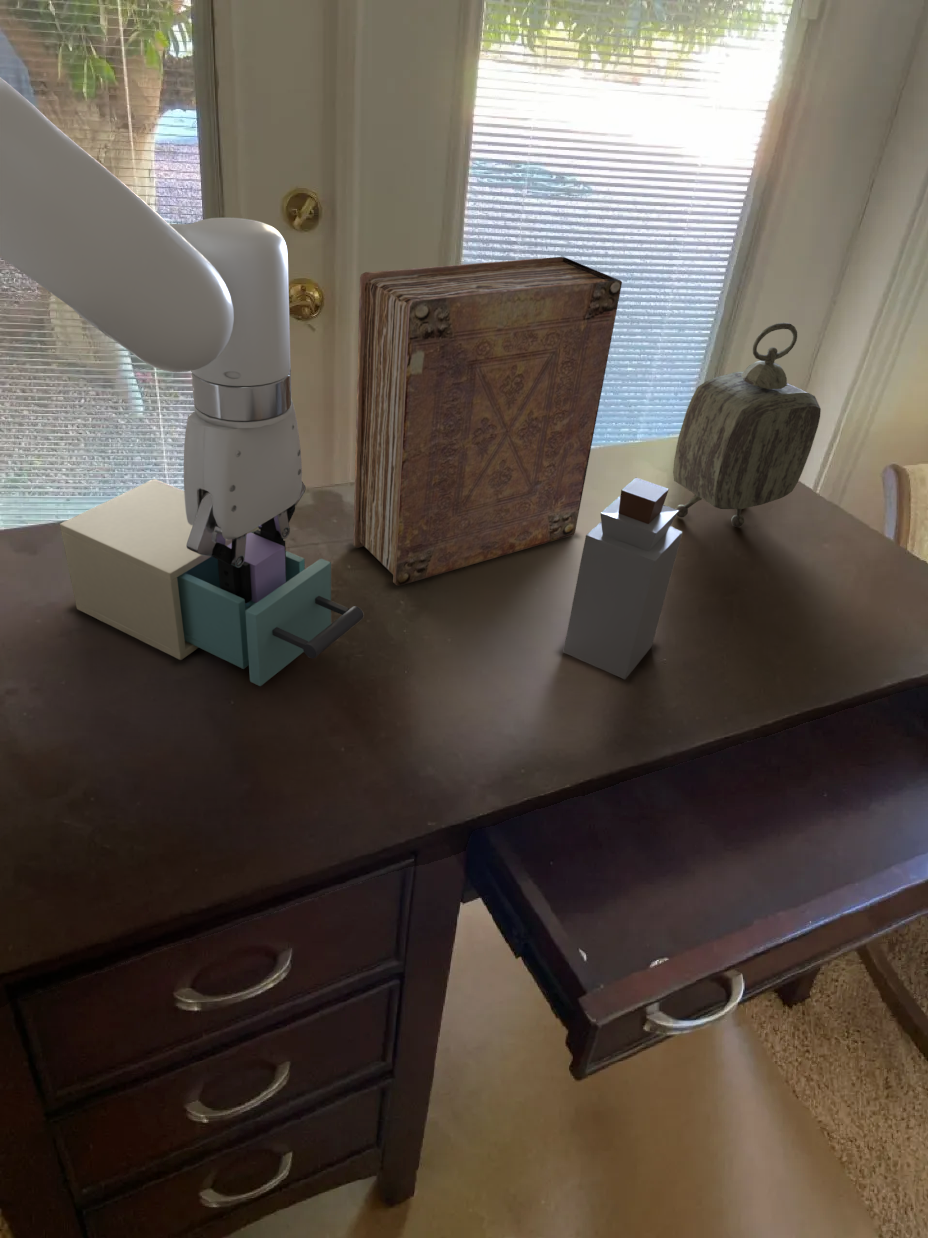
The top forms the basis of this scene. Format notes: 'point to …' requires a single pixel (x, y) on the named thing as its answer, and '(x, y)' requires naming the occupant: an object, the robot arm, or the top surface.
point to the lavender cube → (264, 565)
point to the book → (476, 408)
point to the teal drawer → (263, 617)
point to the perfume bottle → (623, 580)
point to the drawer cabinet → (134, 563)
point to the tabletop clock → (746, 435)
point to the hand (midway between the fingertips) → (253, 583)
